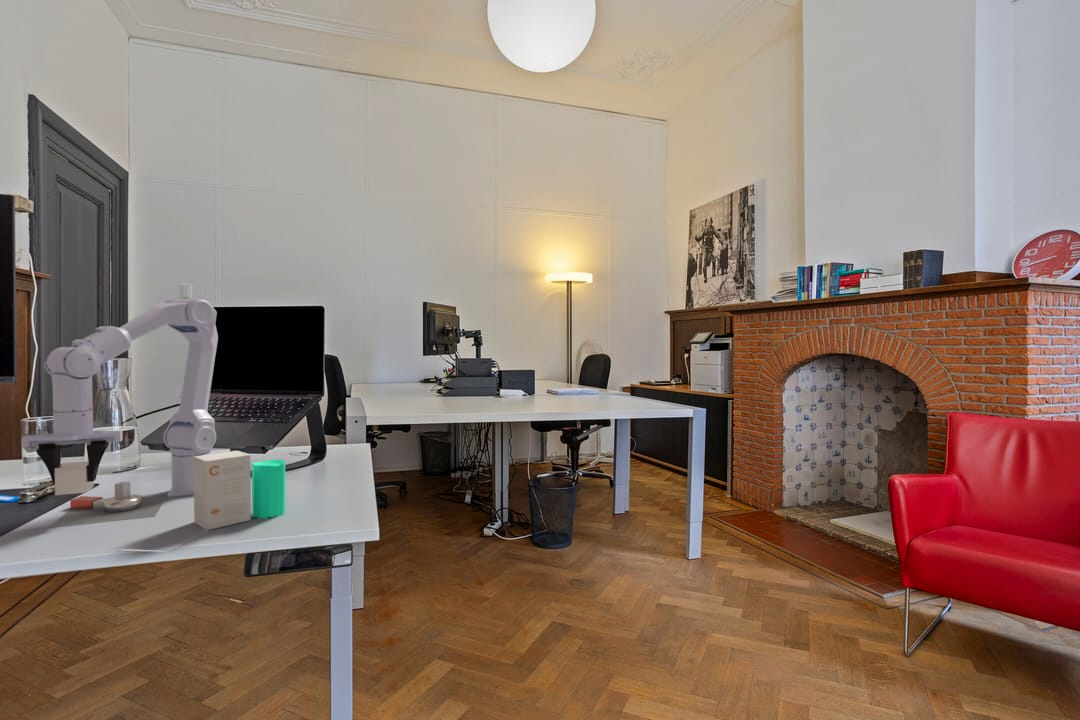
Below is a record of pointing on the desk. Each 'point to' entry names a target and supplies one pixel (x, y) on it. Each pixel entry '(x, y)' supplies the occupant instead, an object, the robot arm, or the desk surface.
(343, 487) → the desk surface
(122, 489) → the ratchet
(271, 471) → the candle
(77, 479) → the pale grey cube
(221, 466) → the small box
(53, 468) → the robot arm
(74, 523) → the mat
